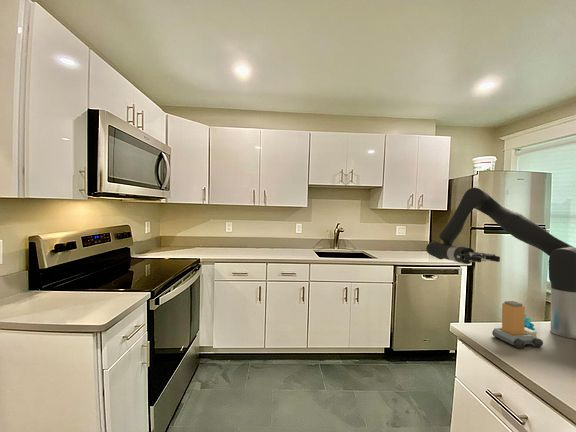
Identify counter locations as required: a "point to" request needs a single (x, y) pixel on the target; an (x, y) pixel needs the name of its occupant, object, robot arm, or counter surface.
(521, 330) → the orange tower grey cap
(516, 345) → the truck
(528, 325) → the gear
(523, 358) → the counter surface
